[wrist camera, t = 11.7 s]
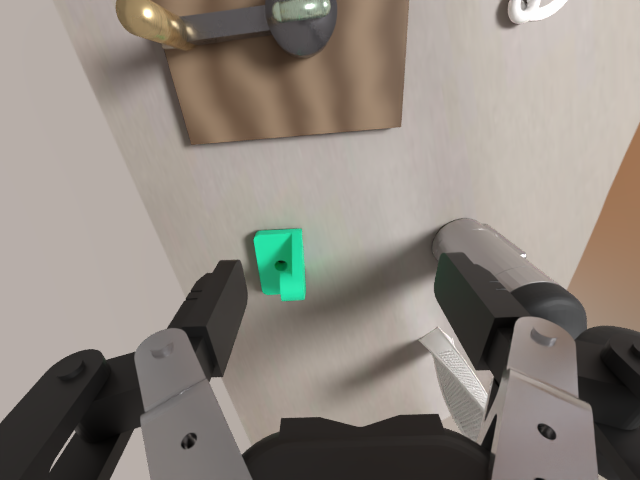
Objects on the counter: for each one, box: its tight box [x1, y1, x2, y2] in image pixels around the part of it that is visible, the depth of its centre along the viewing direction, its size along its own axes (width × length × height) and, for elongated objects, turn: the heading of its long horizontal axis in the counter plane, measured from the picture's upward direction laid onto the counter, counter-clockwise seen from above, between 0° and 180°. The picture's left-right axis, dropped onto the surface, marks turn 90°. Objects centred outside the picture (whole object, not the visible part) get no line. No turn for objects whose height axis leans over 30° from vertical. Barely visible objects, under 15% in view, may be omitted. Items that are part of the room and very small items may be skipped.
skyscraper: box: [419, 327, 488, 442], centre depth 48 cm, size 8×7×28 cm
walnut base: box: [151, 0, 409, 145], centre depth 32 cm, size 28×24×3 cm
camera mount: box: [254, 229, 306, 301], centre depth 44 cm, size 12×8×10 cm, turn 2°
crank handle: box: [116, 0, 337, 59], centre depth 26 cm, size 18×7×11 cm, turn 97°
